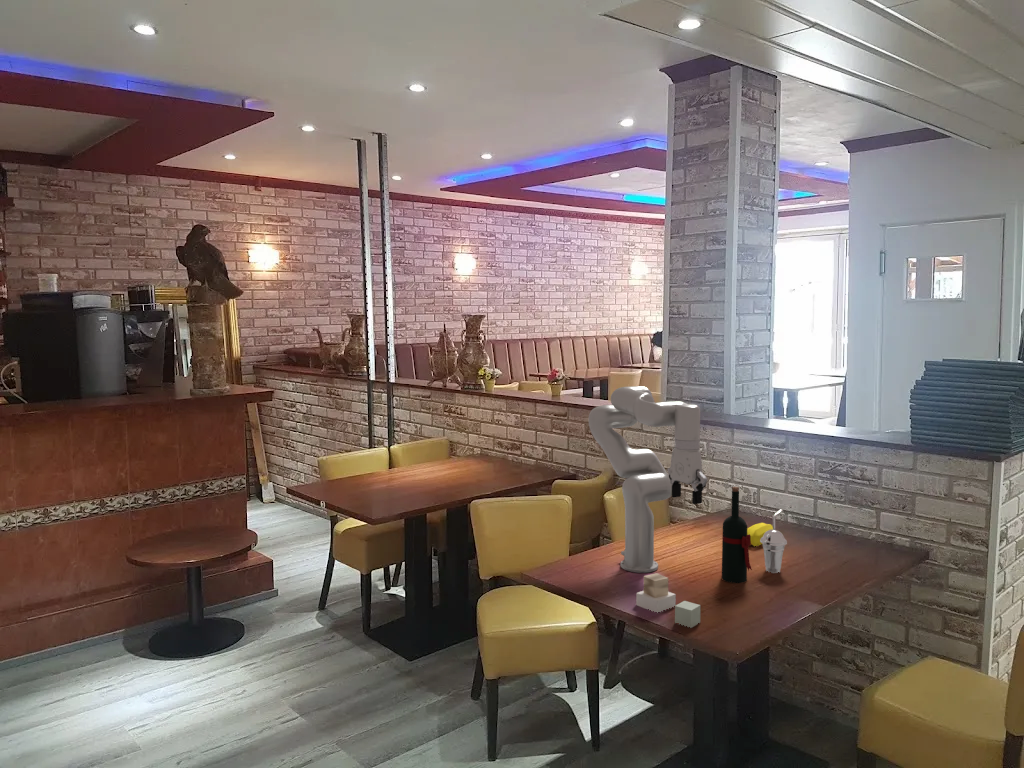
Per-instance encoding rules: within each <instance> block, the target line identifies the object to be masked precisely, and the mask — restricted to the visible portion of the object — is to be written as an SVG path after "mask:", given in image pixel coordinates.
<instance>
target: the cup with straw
mask: <svg viewBox="0 0 1024 768" xmlns="http://www.w3.org/2000/svg"><path fill="white" fill-rule="evenodd" d="M783 512H784V509H783V508H781V509H779V510H778V511H777V512H776V513H774V514H773V515H772V526H773V530H768V531H766V532H765V533H764V535H763V537H762V538H761V540H760V542H761V543H762V544H761V545H762V549H763V554H764V567H765V572H767V571H768V573H770V572H771V573H770V574H779V573H781V568H782V564H783V563H782V562H783V555H784V550H785V547H786V546H787V544H788V541H787V539H786V538H785V536H784V535H783V533H782V532H781V531H779V530H777V529H776V517H777V515H779V514H781V513H783ZM778 572H779V573H778Z"/></svg>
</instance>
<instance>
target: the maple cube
mask: <svg viewBox="0 0 1024 768" xmlns="http://www.w3.org/2000/svg"><path fill="white" fill-rule="evenodd" d="M643 590H644V593H645V594H647V595H650V596H652V597H654V598H657V597H661V596H665V595H668V592H669V577H666V576H665V575H662V574H660V573H658V572H656V573H652V574H648V575H647V574H646V575H644V576H643Z"/></svg>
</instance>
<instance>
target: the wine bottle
mask: <svg viewBox="0 0 1024 768" xmlns="http://www.w3.org/2000/svg"><path fill="white" fill-rule="evenodd" d="M739 509H740V486H739V487H738V486H731V515H730V516H728V517H726V518H725V519H724V520H723V522H722V539H721V540H722V543H721V544H722V546H721V580H722V579H723V580H722V581H724V582H725V583H726V582H727V583H730V584H744V583H746V582H748V572H749V571H750V570H751V571H753V570H752V566H751V564H750V554H749V551H750V550H749V547H751V545H750V544H751V536H750V534H749V535H747V528H748V525H747V522H746V520H745V519H744V518H743V517H741V516H739V514H740V513H739V512H740V510H739Z"/></svg>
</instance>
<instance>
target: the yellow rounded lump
mask: <svg viewBox="0 0 1024 768" xmlns="http://www.w3.org/2000/svg"><path fill="white" fill-rule="evenodd" d="M768 530H773V524H771V523H765V522H759V523H756V524H753V525H751V526H749V527H747V535H749V534H750V536H751V544H750V546H753V547H755V546H758V547H760V546H761V545H763V544H762V543H761V542H760V540H761V538H762V537H763V535H764V533H765V532H766V531H768ZM759 545H760V546H759Z"/></svg>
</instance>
